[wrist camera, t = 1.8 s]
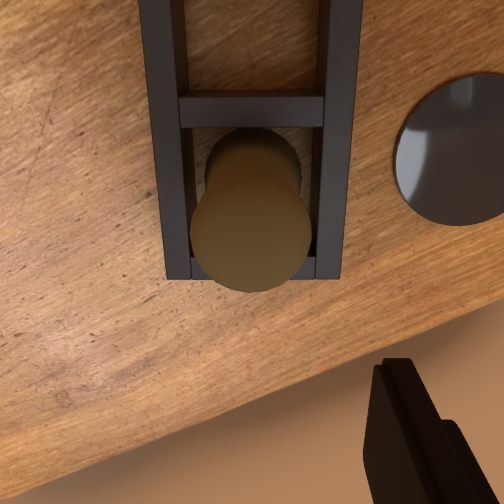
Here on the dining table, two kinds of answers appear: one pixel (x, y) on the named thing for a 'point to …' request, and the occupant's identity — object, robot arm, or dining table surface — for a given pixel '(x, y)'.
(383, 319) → the dining table surface
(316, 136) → the holder
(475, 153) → the coaster
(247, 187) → the cork
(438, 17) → the dining table surface
